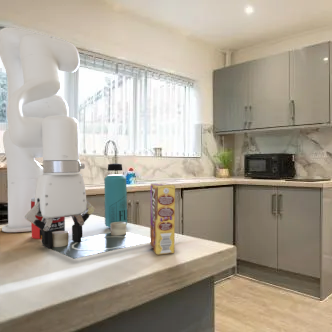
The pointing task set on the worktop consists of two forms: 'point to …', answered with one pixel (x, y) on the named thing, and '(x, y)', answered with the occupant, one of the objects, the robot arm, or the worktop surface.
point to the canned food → (56, 225)
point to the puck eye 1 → (60, 238)
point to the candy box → (162, 218)
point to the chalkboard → (99, 244)
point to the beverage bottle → (115, 196)
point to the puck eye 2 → (118, 228)
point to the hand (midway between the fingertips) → (62, 243)
